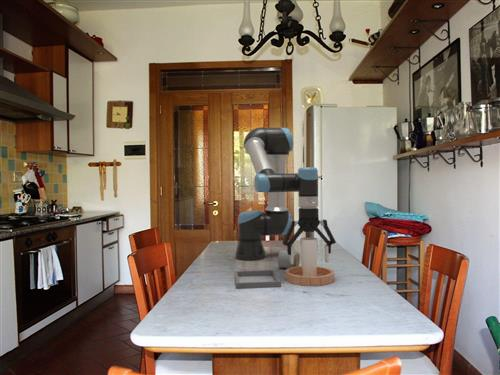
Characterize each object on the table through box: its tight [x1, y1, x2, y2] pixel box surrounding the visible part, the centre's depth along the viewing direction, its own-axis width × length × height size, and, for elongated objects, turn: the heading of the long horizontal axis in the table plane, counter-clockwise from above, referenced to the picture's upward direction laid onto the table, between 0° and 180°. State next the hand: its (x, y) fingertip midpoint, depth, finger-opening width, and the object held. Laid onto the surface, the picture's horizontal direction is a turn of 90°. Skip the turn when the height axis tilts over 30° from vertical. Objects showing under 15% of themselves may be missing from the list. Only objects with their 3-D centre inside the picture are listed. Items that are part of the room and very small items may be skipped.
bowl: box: [284, 265, 335, 287], centre depth 143 cm, size 18×18×3 cm
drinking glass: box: [299, 236, 319, 277], centre depth 143 cm, size 7×7×15 cm
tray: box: [234, 269, 282, 289], centre depth 142 cm, size 18×16×2 cm
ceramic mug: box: [277, 249, 301, 269], centre depth 164 cm, size 11×8×8 cm
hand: (309, 262), depth 143 cm, fingers open, 13 cm apart
